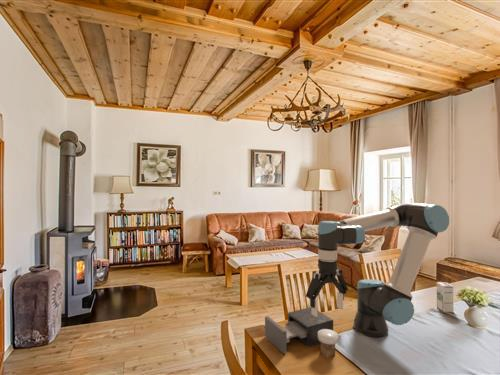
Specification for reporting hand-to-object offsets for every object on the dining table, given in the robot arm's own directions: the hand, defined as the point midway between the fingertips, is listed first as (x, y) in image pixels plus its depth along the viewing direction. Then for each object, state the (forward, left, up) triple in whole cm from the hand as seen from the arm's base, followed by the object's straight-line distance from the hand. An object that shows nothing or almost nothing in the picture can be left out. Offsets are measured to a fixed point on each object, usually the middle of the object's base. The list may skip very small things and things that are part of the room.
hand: (327, 311), depth 113 cm
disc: (0, 0, -11) cm, 11 cm away
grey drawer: (+9, -15, -17) cm, 24 cm away
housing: (-3, -15, -17) cm, 23 cm away
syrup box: (-86, -2, -17) cm, 88 cm away
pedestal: (0, 0, -17) cm, 17 cm away
